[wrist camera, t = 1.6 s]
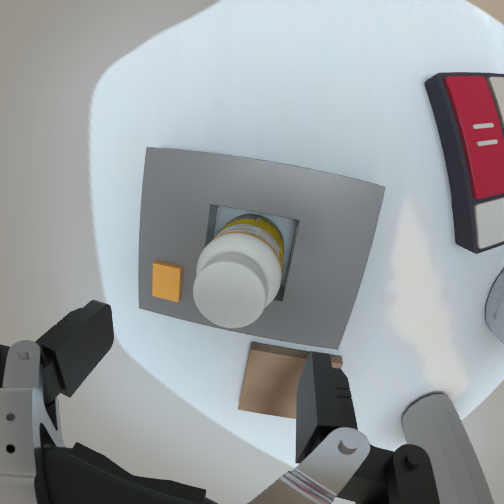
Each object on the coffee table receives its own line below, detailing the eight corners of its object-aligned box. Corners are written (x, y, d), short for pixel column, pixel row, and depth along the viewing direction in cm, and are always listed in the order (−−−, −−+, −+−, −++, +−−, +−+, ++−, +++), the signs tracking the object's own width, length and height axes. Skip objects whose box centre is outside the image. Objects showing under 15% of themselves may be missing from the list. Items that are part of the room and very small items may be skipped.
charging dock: (375, 184, 21) (387, 187, 18) (334, 333, 26) (338, 353, 23) (160, 147, 23) (143, 147, 20) (150, 296, 27) (136, 311, 24)
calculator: (521, 73, 13) (550, 230, 16) (498, 82, 17) (526, 222, 20) (439, 69, 15) (478, 257, 18) (418, 83, 19) (454, 245, 22)
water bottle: (425, 383, 27) (487, 566, 3) (459, 396, 27) (519, 545, 3) (377, 430, 30) (400, 598, 6) (414, 438, 30) (445, 581, 6)
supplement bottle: (248, 199, 23) (221, 225, 14) (298, 243, 24) (302, 294, 15) (207, 247, 25) (163, 296, 16) (255, 287, 25) (236, 354, 16)
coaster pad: (341, 356, 27) (342, 363, 25) (315, 413, 29) (316, 420, 28) (251, 341, 27) (250, 349, 26) (239, 401, 30) (237, 409, 29)
